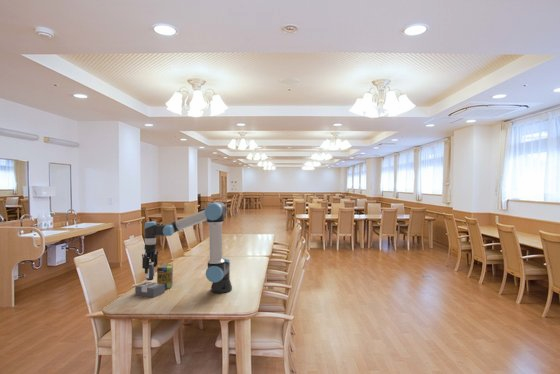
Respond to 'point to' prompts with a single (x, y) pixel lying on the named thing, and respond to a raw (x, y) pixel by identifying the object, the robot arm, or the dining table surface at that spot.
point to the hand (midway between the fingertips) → (149, 276)
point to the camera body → (150, 289)
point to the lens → (150, 271)
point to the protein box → (165, 274)
